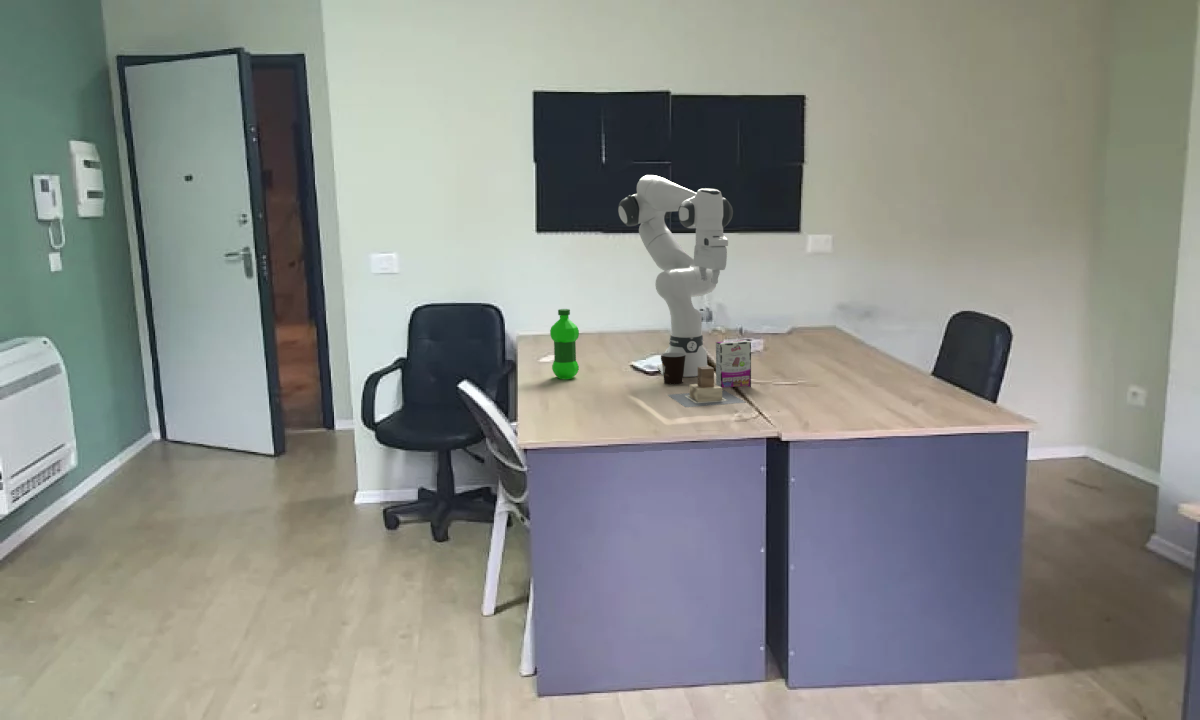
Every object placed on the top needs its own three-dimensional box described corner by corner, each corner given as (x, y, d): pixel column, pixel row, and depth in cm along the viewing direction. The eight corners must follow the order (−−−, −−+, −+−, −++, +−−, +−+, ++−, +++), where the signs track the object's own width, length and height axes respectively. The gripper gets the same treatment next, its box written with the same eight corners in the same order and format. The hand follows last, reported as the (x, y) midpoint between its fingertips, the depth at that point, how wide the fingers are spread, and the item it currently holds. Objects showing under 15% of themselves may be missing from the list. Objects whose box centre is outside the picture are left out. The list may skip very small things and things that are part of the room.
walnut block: (697, 385, 299) (697, 366, 298) (709, 384, 300) (709, 366, 299) (702, 387, 295) (702, 369, 294) (713, 387, 296) (714, 368, 295)
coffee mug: (684, 385, 324) (684, 357, 323) (659, 384, 326) (659, 356, 324) (687, 378, 336) (687, 351, 334) (663, 377, 337) (663, 350, 335)
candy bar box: (745, 386, 321) (745, 339, 318) (751, 389, 316) (752, 341, 313) (714, 388, 318) (715, 341, 315) (720, 392, 314) (721, 343, 310)
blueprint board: (666, 399, 304) (666, 394, 304) (724, 394, 309) (724, 390, 309) (685, 411, 287) (685, 406, 287) (746, 407, 292) (746, 402, 292)
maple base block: (689, 396, 301) (689, 384, 300) (712, 394, 303) (713, 382, 302) (698, 402, 293) (698, 389, 292) (722, 400, 295) (722, 387, 294)
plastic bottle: (546, 379, 338) (544, 310, 333) (560, 374, 347) (559, 307, 343) (570, 381, 334) (568, 312, 329) (584, 376, 343) (583, 308, 338)
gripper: (689, 238, 312) (689, 279, 314) (711, 241, 292) (711, 285, 295) (706, 237, 313) (706, 278, 316) (730, 240, 294) (730, 284, 296)
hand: (709, 282), depth 305 cm, fingers open, 8 cm apart
